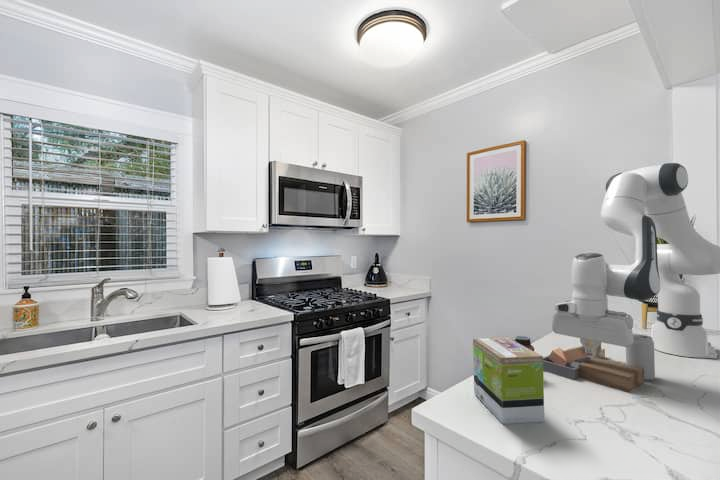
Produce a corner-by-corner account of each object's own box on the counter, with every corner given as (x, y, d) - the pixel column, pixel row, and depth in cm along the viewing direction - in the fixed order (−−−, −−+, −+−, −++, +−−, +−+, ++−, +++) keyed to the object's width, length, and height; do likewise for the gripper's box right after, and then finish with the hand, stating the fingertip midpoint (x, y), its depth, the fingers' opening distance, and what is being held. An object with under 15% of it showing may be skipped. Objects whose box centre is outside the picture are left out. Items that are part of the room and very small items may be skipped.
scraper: (591, 354, 118) (591, 320, 119) (604, 357, 115) (604, 322, 115) (579, 359, 113) (578, 324, 113) (592, 363, 109) (592, 326, 110)
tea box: (472, 394, 87) (471, 337, 87) (509, 393, 87) (508, 336, 88) (501, 425, 72) (501, 356, 72) (546, 423, 72) (545, 354, 73)
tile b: (574, 358, 105) (569, 348, 106) (590, 355, 101) (585, 345, 102) (566, 361, 102) (562, 351, 103) (583, 358, 98) (578, 347, 99)
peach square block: (574, 358, 105) (570, 365, 106) (559, 347, 108) (555, 354, 110) (567, 361, 102) (562, 369, 103) (552, 350, 106) (547, 357, 107)
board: (594, 370, 103) (594, 357, 103) (643, 383, 93) (643, 368, 93) (578, 378, 97) (578, 364, 97) (629, 392, 87) (629, 377, 87)
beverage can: (660, 382, 94) (659, 339, 94) (634, 380, 95) (633, 338, 95) (646, 373, 100) (645, 333, 100) (621, 372, 101) (621, 332, 102)
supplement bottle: (534, 374, 100) (534, 336, 100) (535, 381, 95) (535, 341, 95) (512, 371, 103) (512, 334, 103) (512, 378, 97) (512, 338, 97)
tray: (562, 359, 113) (562, 350, 113) (598, 368, 105) (597, 358, 105) (537, 369, 104) (537, 359, 104) (574, 380, 96) (574, 369, 96)
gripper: (636, 312, 93) (637, 362, 93) (558, 302, 110) (559, 344, 109) (628, 314, 89) (630, 367, 89) (549, 304, 106) (549, 348, 106)
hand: (590, 354), depth 99 cm, fingers closed
